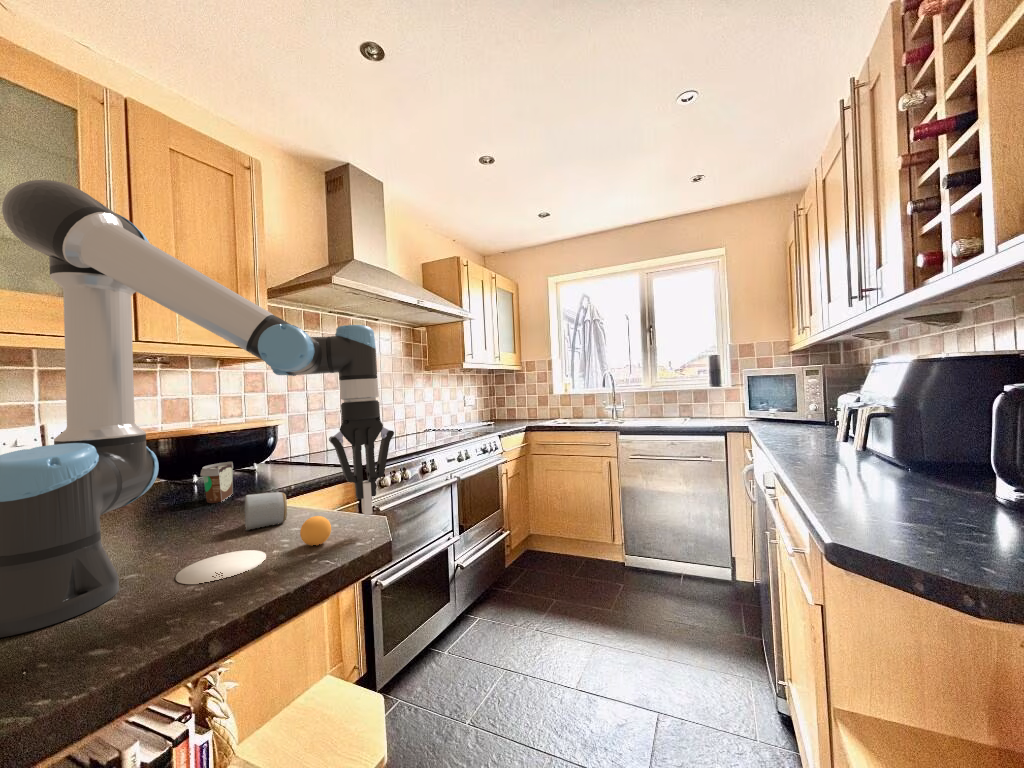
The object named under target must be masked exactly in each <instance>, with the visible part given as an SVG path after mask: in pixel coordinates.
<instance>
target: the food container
mask: <svg viewBox="0 0 1024 768" xmlns="http://www.w3.org/2000/svg"><path fill="white" fill-rule="evenodd" d="M233 469H234V463H233V461H227V462H226V461H225V462H219V463H218V462H217V463H214V464H208V465H205V466H203V467H202V469H201V470H200V474H199V475H200V477H202V478H203V483H204V484H203V485H204V492H205V497H206V498H205V500H206V503H207V504H208V503H209V504H219V503H218V502H221V503H223V502H225V501H226V500H227V499H229V498H230V497H232V496H233V495H234V488H233V487H234V484H233V483H234V482H233V481H234V479H233V478H234V476H233V474H234V473H233V472H234V470H233ZM232 494H233V495H232ZM231 495H232V496H231ZM228 497H229V498H228ZM225 499H226V500H225ZM222 501H223V502H222Z"/></svg>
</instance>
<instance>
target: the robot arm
mask: <svg viewBox="0 0 1024 768" xmlns="http://www.w3.org/2000/svg"><path fill="white" fill-rule="evenodd" d="M1 207H2V208H1V212H2V216H3V220H4V222H5V224H6V225H7V227H8V228H9V230H10V231H11V233H13V235H14V236H15V237H16V238H17V239H18V240H20V242H22V243H23V244H25V245H27V246H28V247H29V248H31V249H33V250H35V251H37V252H40V253H42V254H44V255H46V256H48V261H49V264H48V265H49V267H48V268H49V278H50V280H52V281H53V282H55V284H56V285H58V286H59V287H60V288H62V290H63V293H62V294H63V322H64V323H63V324H64V326H63V327H64V329H63V330H64V359H65V360H64V363H65V365H64V366H65V369H64V370H65V401H66V402H65V404H66V407H65V408H66V428H65V429H64V430H63V431H62V432H61V433H60V434H59V435H57V436H55V438H53V444H49V445H42V446H35V447H32V448H29V449H27V448H26V449H19V450H15V451H10V452H5V453H2V454H0V639H1V638H5V637H10V636H11V637H12V636H16V635H21V634H25V633H28V632H32V631H35V630H38V629H43V628H46V627H49V626H53V625H54V624H58V623H60V622H63V621H66V620H69V619H71V618H74V617H77V616H79V615H82V614H84V613H86V612H88V611H91V610H93V609H95V608H97V607H99V606H101V605H103V604H104V603H106V602H107V601H109V600H110V599H112V598H114V596H116V594H118V593H119V591H120V584H119V581H120V579H119V574H118V572H117V570H116V568H115V566H114V565H113V563H112V561H111V559H110V557H109V555H108V554H107V552H106V550H105V547H104V546H103V543H102V537H101V536H102V535H101V533H102V532H101V515H104V514H106V513H109V512H111V511H114V510H117V509H120V508H123V507H125V506H128V505H129V504H131V503H133V502H134V501H136V500H137V499H138V498H140V497H142V496H143V495H144V494H146V493H147V492H148V491H149V490H150V489H151V488H152V486H153V485H154V483H155V481H156V479H157V477H158V475H159V469H160V468H159V460H158V457H157V455H156V453H155V452H154V451H153V450H151V449H150V448H149V447H148V446H147V432H146V431H145V430H143V429H142V428H140V427H139V426H137V425H136V423H135V421H136V419H135V417H136V416H135V392H134V391H135V388H134V387H135V386H134V385H135V384H134V353H133V352H134V351H133V350H134V349H133V347H134V346H133V321H132V320H133V316H132V314H133V313H132V312H133V311H132V296H133V295H134V294H136V293H138V294H141V295H142V296H144V297H145V298H147V299H149V300H151V301H154V302H155V303H157V304H159V305H161V306H163V307H164V308H167V310H169V311H172V312H173V313H176V314H177V315H179V316H181V317H183V318H185V319H186V320H187V321H188V320H189V321H190V322H192V323H194V324H196V325H198V326H200V327H201V328H203V329H205V330H207V331H209V332H211V334H214V335H216V336H218V337H220V338H222V339H224V340H225V341H227V342H229V343H231V344H233V345H235V346H237V347H238V348H241V349H242V350H244V351H246V352H247V353H250V354H251V355H252V356H254V357H256V358H258V359H260V360H261V361H263V362H264V363H265V364H266V365H268V366H269V367H270V368H271V370H272V373H274V375H276V376H289V377H290V376H291V377H295V376H302V375H304V376H305V375H317V374H318V375H319V374H321V375H322V374H335V373H337V374H338V376H339V377H338V379H339V393H340V394H339V395H340V400H341V401H343V402H341V404H340V411H341V425H340V428H339V431H338V432H337V433H336V434H334V435H332V436H329V438H328V441H329V442H330V444H331V445H332V446H333V448H334V449H335V452H336V456H337V458H338V461H339V465H340V468H341V469H342V473H343V476H344V479H345V480H346V481H347V482H349V483H354V485H355V497H356V498H357V499H358V500H361V513H362V514H363V515H364V516H368V515H369V516H370V515H373V514H374V513H373V511H374V510H373V497H376V495H377V480H378V479H379V478H381V477H384V475H385V471H386V466H387V461H388V454H389V449H390V443H391V440H392V439H393V437H394V435H395V431H393V430H391V429H388V428H386V427H385V426H384V425H383V422H382V421H381V413H380V412H381V411H380V409H381V408H380V401H379V400H378V399H377V398H378V397H379V395H380V394H379V382H378V366H377V365H378V364H377V347H376V338H375V332H374V329H373V328H371V327H370V326H368V325H363V324H362V325H361V324H348V325H340V326H339V325H338V326H337V328H336V329H335V335H331V336H310V335H309V334H308V332H306V331H304V330H303V329H301V327H298V326H297V325H294V324H293V325H292V324H291V323H289V322H287V321H286V320H284V319H282V318H280V317H278V316H276V315H275V314H273V313H272V312H270V311H268V310H267V309H266V308H263V307H261V306H259V305H258V304H256V303H254V302H253V301H251V300H249V299H247V298H245V297H244V296H242V295H240V294H239V293H238V292H235V291H234V290H232V289H230V288H228V287H226V286H224V284H221V283H220V282H218V281H216V280H215V279H213V278H211V277H209V276H208V275H206V274H203V273H202V272H200V271H199V270H198V269H195V268H193V267H191V266H190V265H188V264H186V263H185V262H183V261H181V260H180V259H178V258H176V257H175V256H173V255H171V254H169V253H167V252H166V251H164V250H162V249H161V248H158V247H157V246H156V245H154V244H152V243H150V241H149V240H148V238H147V236H146V235H145V234H144V233H143V232H142V231H141V230H140V229H139V228H138V227H137V226H136V225H135V224H134V223H133V222H132V221H130V220H129V219H127V218H126V217H124V216H122V215H121V214H119V213H116V212H114V211H113V210H111V209H110V208H109V207H107V206H106V205H104V204H103V203H102V202H100V201H98V200H97V199H95V198H94V197H92V196H91V195H90V194H88V193H87V192H85V191H84V190H82V189H80V188H77V187H75V186H73V185H70V184H67V183H65V182H60V181H57V180H47V179H33V180H27V181H24V182H21V183H20V184H17V185H14V187H13V188H11V189H9V191H8V192H7V193H6V194H5V195H4V198H3V201H2V206H1ZM379 435H380V438H381V439H380V444H379V450H378V456H377V463H376V460H375V441H376V440H377V439H378V437H379ZM343 437H344V438H345V439H346V440H347V441H348V443H349V444H350V445H351V450H352V461H353V463H352V464H353V472H352V469H351V466H350V463H349V460H348V458H347V457H348V456H347V454H346V451H345V448H344V446H343V442H344V439H343ZM363 445H364V450H365V464H366V466H365V467H366V478H367V480H364V475H363V458H362V456H363V455H362V449H363V448H362V446H363Z"/></svg>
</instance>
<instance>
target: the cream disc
mask: <svg viewBox="0 0 1024 768" xmlns="http://www.w3.org/2000/svg"><path fill="white" fill-rule="evenodd" d="M266 559H267V554H266V552H264V551H262V550H257V549H256V550H253V549H251V550H250V549H249V550H237V551H231V552H226V553H221V554H217V555H214V556H210V557H207V558H204V559H201V560H199V561H196V562H194V563H191V564H190V565H188V566H186V567H184V568H182V569H181V570H180V571H178V572H177V573H176V575H175V581H176V582H177V583H179V584H184V585H200V584H199V583H203V584H205V583H204V582H209V583H211V582H210V581H214V580H219V579H221V578H222V577H223V578H226V577H231V576H234V575H237V574H240V573H242V574H244V573H243V572H245V571H247V572H249V571H252V570H254V569H255V568H257V567H258V565H259V566H260V565H261V564H263V563H264V562H265V561H266ZM264 560H265V561H264ZM263 561H264V562H263ZM262 562H263V563H262ZM248 570H249V571H248ZM215 572H216V573H218V574H220V575H218V574H216V573H215ZM220 572H221V573H223V574H221V573H220ZM245 573H246V572H245ZM216 575H217V576H216ZM221 575H223V576H221ZM240 575H241V574H240ZM212 576H214V577H216V578H214V577H212ZM219 576H220V577H219ZM237 576H238V575H237ZM234 577H235V576H234ZM213 578H214V579H213ZM223 578H222V579H223ZM231 578H232V577H231ZM223 580H224V579H223ZM219 581H220V580H219Z"/></svg>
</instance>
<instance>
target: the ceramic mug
mask: <svg viewBox="0 0 1024 768" xmlns="http://www.w3.org/2000/svg"><path fill="white" fill-rule="evenodd" d="M287 501H288V500H287V495H286V493H284V492H279V491H277V492H266V493H265V492H264V493H255V494H246V495H245V496H244V526H245V527H246V529H245V531H250V529H252V530H256V529H255V528H257V529H261V528H260V527H262V528H265V526H266V527H270V526H269V525H272V526H274V525H273V524H277V525H279V524H278V523H280V524H282V523H281V522H283V523H285V522H286V521H287V518H288V517H287V516H288V505H287V504H288V503H287ZM245 527H244V528H245Z"/></svg>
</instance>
